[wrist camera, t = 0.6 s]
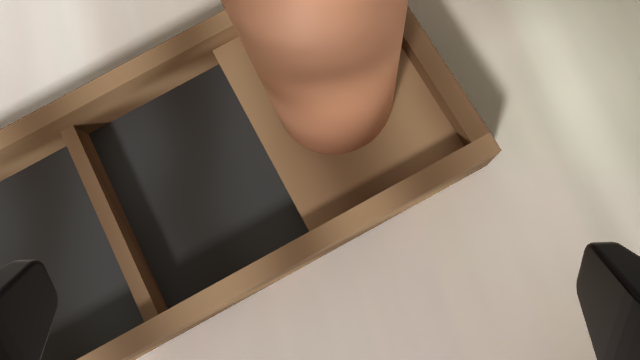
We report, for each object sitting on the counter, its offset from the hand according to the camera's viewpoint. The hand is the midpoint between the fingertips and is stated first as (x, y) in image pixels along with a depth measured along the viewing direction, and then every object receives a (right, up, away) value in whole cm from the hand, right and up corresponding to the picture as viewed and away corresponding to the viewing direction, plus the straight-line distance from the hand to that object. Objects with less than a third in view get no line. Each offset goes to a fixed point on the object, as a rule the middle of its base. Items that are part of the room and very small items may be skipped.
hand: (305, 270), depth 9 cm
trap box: (-8, 0, +14) cm, 16 cm away
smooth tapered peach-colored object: (+1, +5, +13) cm, 14 cm away
